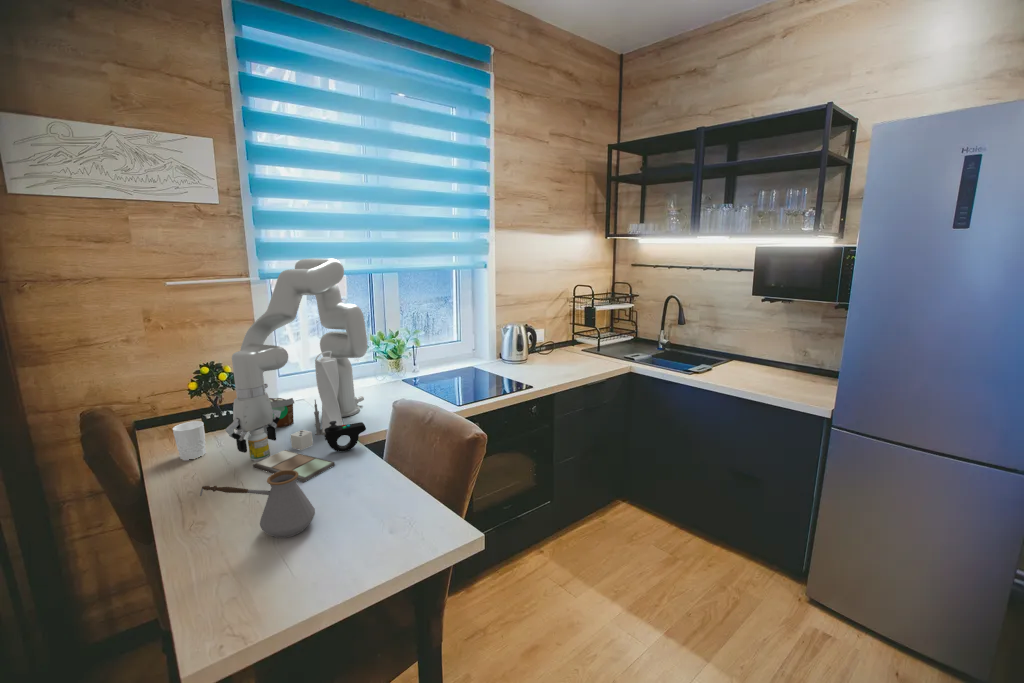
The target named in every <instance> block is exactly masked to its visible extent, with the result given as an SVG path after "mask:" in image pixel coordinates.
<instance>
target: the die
mask: <svg viewBox="0 0 1024 683" xmlns="http://www.w3.org/2000/svg"><path fill="white" fill-rule="evenodd" d="M289 437H290V442H291V448H292V449H293V450H298V451H303V450H305V449H308V448H310V447H312V446H314V440H313V432H312V431H309V430H304V429H301V430H299V431H296V432H293V433H291V434H290V436H289Z"/></svg>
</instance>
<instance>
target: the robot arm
mask: <svg viewBox="0 0 1024 683" xmlns="http://www.w3.org/2000/svg"><path fill="white" fill-rule="evenodd" d="M344 275H345V269H344V265H343V264H342V263H341V262H340V260H337V259H335V258H303V259H299V260H298V261H297V262H296V263H295V264H294V268H292V269H285V270H283V271H281V272H280V273H279V275H278V277H277V280H276V283H275V286H274V289H273V291H272V295H271V297H270V300H269V303H268V306H267V309H266V311H265V312H264V313H262V315H261V316H259V317H258V318H257V320H256V321H254V323H252V325H251V326H250V327H249V328H248V329H247V331H246V333H245V335H244V337H243V341H242V343H241V346H240V350H239V351H236V352H234V353H233V354H232V355H231V362H232V370H233V372H232V373H233V377H234V378H233V379H234V386H235V393H236V398H234V399H233V406H232V407H233V410H232V411H233V412H232V413H233V414H232V418H233V421H232V423H231V424H229V425H228V426H227V427H226V428H225V432H226V433H227V434H228V435H229V437H231V438H232V439H234V440H235V441H236V447H237V450H238V452H241V453H244V454H245V453H247V452H248V447H247V440H246V439H244V438H245V437H246V435H247V433H249V431H252V430H255V429H258V428H260V427H265V426H267V427H266V434H267V437H268V440H271V441H276V440H277V431H276V427H277V423H278V421H279V417H280V414H281V411H278V410H273V409H272V407H271V403H270V399H269V398H270V397H269V395H268V392H266V389H268V386H269V385H268V383H265V378H264V372H270V371H277V370H279V369H281V368H283V367H285V365H286V364H287V363H288V361H289V353H288V351H287V350H286V349H285V348H284V347H283V346H280V345H272V344H265V341H266V340H267V338H268V337H270V335H271V334H272V333H273V332H274V331H276V330H277V329H280V328H283V327H284V326H286V325H288V324H291V323H292V322H293V321H295V319H296V317H297V313H298V310H299V308H300V305H301V304H300V303H301V301H302V298H303V296H315V299H316V305H317V312H318V316H319V317H318V318H319V321H320V325H321V326H322V327H323V328H325V329H329V330H341V331H329V332H328V331H327V332H326V333H325V334H323V335H322V336H321V338H320V340H319V347H320V353H322V352H325V351H331V352H332V353H331V358H336V360H337V367H338V376H339V387H338V396H337V401H338V404H339V408H340V413H341V418H345V417H350V416H353V415H356V414H358V413H359V412H360V410H361V406H359V405H358V404H359V403H360V402H363V401H364V400H365V397H364V396H363V395H361V396H360V395H359V396H358V397H356V396H355V387H354V386H355V384H354V374H353V365H352V363H351V361H350V359H359V358H363V357H364V356H365V355H366V353H367V351H368V337H367V336H368V335H367V330H366V329H367V328H366V323H365V318H364V317H365V316H364V312H363V311H362V309H361V308H360V306H359V305H357V304H354V303H344V302H343V299H342V296H341V291H340V288H339V286H338V284H339V283H340V282H341V281H342V279H343V277H344ZM342 330H343V331H342ZM321 355H322V357H329V356H330V352H327V353H324V354H321ZM273 414H274V417H273ZM235 430H236V432H235Z"/></svg>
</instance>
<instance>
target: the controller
mask: <svg viewBox="0 0 1024 683" xmlns="http://www.w3.org/2000/svg"><path fill="white" fill-rule="evenodd" d="M329 424H331V426H330V427H329V428H326V429H325V430H324V431H325V433H326V435H323V436H324V439H325V441H326V442H327V444H328V446H329V448H331V449H333V450H334V451H335V452H340V453H341V452H342V453H343V452H348V451H351V450H352V449H353V448H354V447H355V446H356V445H357V444H358V442H359V436H360V434H362V433H364V432H366V430H367V427H366V425H365V423H364V422H362V421H361V422H355V423H354V422H353V423H350V424H349V423H348V424H343V425H339V426H337V425H335V424H336V421H331V422H330V423H329ZM344 436H347V437H348V438H349V441H348V442H347V443H346V444H344V445H340V444H338V440H339V438H340V437H344Z"/></svg>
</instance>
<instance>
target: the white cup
mask: <svg viewBox="0 0 1024 683" xmlns="http://www.w3.org/2000/svg"><path fill="white" fill-rule="evenodd" d="M172 433H173V436H174V441H175V446H176V448H177V451H178V455H179V459H180V460H181V459H183V460H182V461H190V460H189V459H194V458H197V457H200V456H202V455H204V454H205V453H206V454H207V449H206V444H207V443H206V433H205V426H204V422H203V421H199V420H194V421H193V420H191V421H188V422H183V423H180V424H177V425H175V426H173V427H172ZM206 454H205V455H206ZM205 455H204V456H205ZM202 457H203V456H202ZM200 458H201V457H200ZM197 459H198V458H197ZM194 460H195V459H194Z"/></svg>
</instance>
